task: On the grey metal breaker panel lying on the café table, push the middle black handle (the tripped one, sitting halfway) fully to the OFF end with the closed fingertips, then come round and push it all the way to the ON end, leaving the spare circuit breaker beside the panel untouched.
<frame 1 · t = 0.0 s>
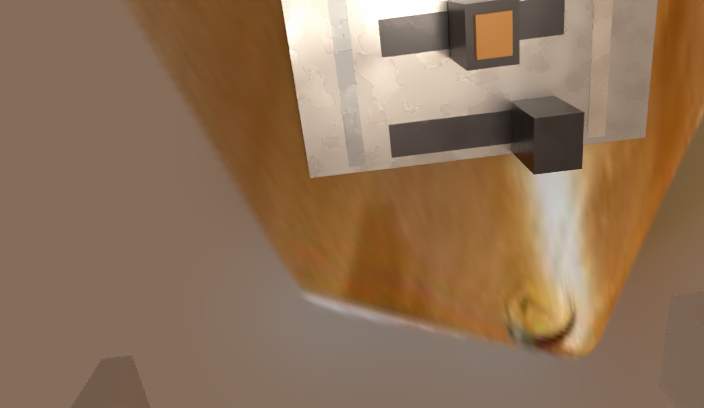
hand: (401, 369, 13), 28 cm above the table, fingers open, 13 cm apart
breaker panel: (464, 24, 37), on the table
tripped toggle: (482, 31, 32), point 5 cm above the table, slide at 0.0 cm
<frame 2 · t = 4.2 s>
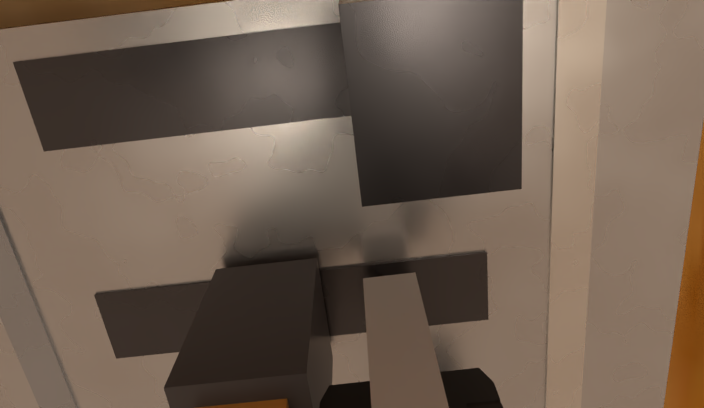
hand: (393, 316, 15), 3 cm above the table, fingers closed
breaker panel: (299, 273, 19), on the table
tripped toggle: (264, 374, 14), point 5 cm above the table, slide at -0.5 cm, touching gripper
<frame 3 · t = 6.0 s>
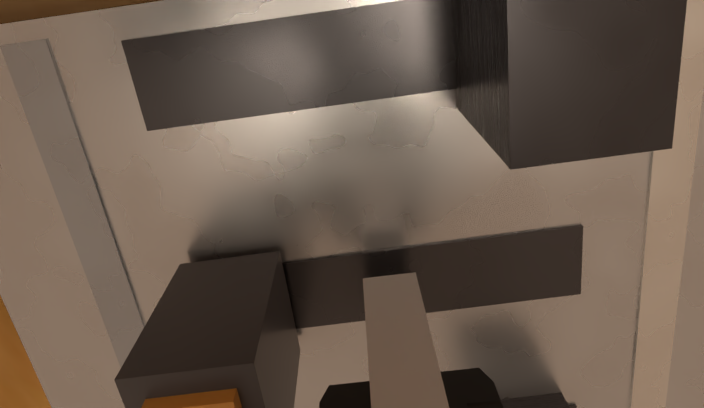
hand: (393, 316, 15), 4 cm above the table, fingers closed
breaker panel: (383, 253, 19), on the table
tripped toggle: (224, 366, 14), point 5 cm above the table, slide at -4.5 cm
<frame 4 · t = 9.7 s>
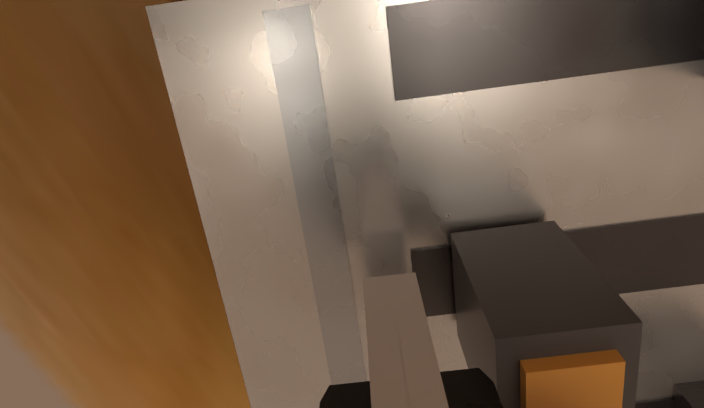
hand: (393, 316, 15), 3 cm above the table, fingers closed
breaker panel: (581, 232, 18), on the table
tripped toggle: (532, 334, 14), point 5 cm above the table, slide at -3.3 cm, touching gripper
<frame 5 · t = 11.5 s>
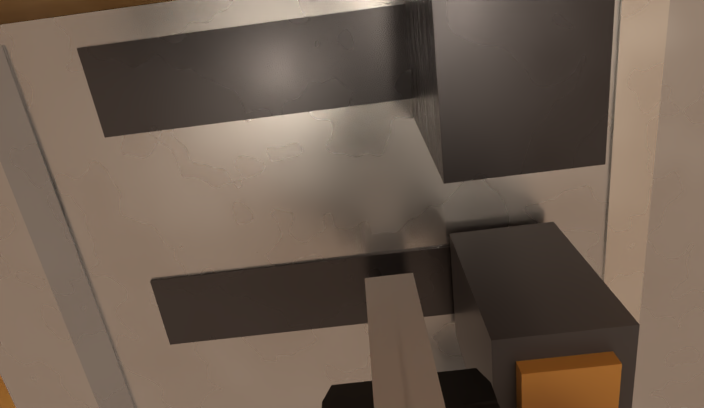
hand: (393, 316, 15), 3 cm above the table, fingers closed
breaker panel: (348, 260, 19), on the table
tripped toggle: (530, 335, 14), point 5 cm above the table, slide at 4.7 cm, touching gripper
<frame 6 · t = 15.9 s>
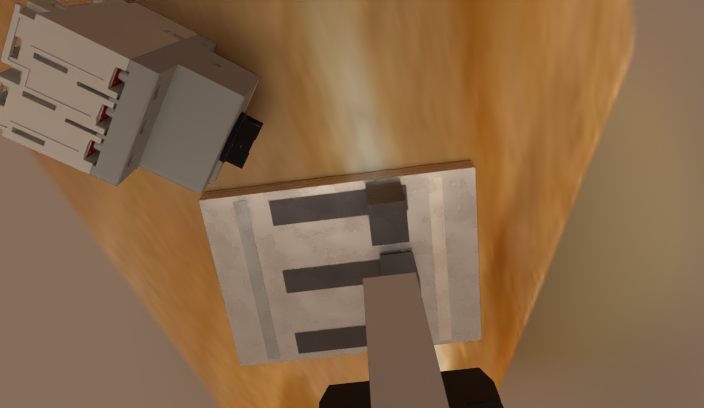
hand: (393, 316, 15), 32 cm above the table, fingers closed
breaker panel: (348, 263, 52), on the table
circuit breaker: (189, 79, 45), on the table
tripped toggle: (400, 286, 47), point 5 cm above the table, slide at 4.5 cm
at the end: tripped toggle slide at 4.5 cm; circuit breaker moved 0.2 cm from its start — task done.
